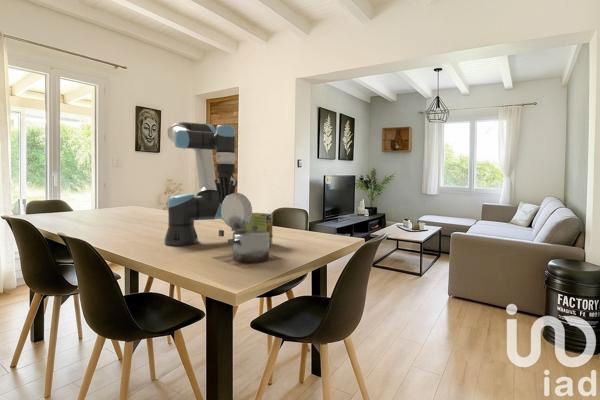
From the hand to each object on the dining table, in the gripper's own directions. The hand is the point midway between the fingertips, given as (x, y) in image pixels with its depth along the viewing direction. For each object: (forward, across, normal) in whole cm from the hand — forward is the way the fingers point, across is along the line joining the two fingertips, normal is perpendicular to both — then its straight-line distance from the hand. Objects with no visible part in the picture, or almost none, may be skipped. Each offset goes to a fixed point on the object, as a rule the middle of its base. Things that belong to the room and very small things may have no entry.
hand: (225, 219), depth 139 cm
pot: (+13, +17, 0) cm, 21 cm away
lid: (-4, +9, 0) cm, 10 cm away
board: (+15, +15, 0) cm, 21 cm away
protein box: (+15, -2, +17) cm, 23 cm away
